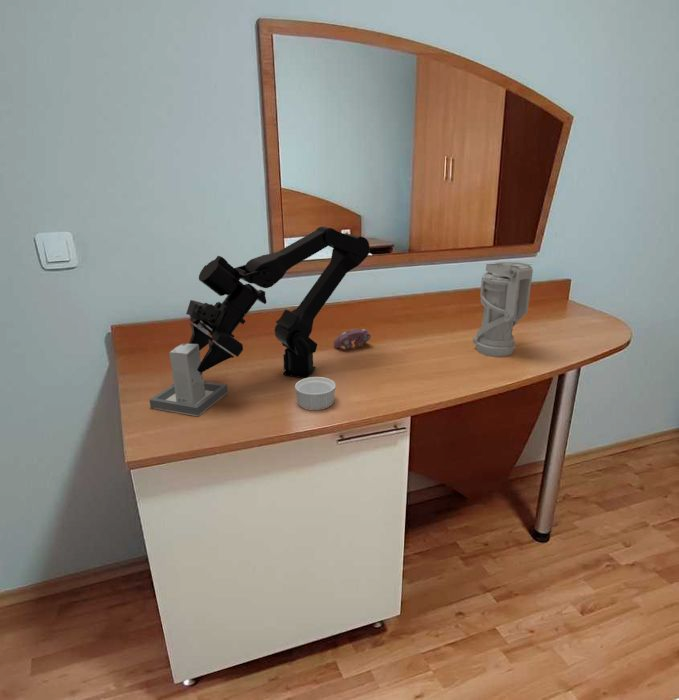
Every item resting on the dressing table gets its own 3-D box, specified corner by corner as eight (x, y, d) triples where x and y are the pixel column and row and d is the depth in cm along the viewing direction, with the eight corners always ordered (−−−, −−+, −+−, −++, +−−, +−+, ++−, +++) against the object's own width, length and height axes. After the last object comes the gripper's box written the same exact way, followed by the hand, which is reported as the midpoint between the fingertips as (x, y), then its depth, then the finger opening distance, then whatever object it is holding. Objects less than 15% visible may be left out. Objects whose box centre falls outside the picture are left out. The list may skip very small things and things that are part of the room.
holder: (227, 392, 118) (227, 384, 117) (197, 416, 108) (196, 408, 107) (183, 385, 122) (182, 377, 121) (150, 408, 111) (149, 399, 111)
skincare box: (194, 405, 112) (187, 353, 107) (175, 403, 112) (168, 352, 108) (206, 393, 117) (200, 343, 113) (188, 391, 118) (181, 342, 114)
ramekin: (339, 410, 110) (338, 391, 108) (297, 413, 108) (297, 395, 107) (332, 392, 118) (331, 375, 117) (293, 395, 117) (293, 378, 115)
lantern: (467, 347, 144) (475, 258, 135) (496, 341, 148) (505, 255, 139) (499, 363, 133) (510, 267, 124) (529, 356, 137) (542, 263, 128)
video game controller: (337, 356, 143) (342, 338, 138) (331, 344, 145) (335, 327, 141) (368, 350, 147) (374, 333, 142) (362, 339, 149) (367, 321, 144)
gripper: (193, 278, 116) (151, 333, 115) (222, 296, 102) (174, 359, 100) (229, 305, 123) (190, 358, 122) (262, 326, 108) (217, 386, 107)
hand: (192, 364), depth 112 cm, fingers open, 9 cm apart
